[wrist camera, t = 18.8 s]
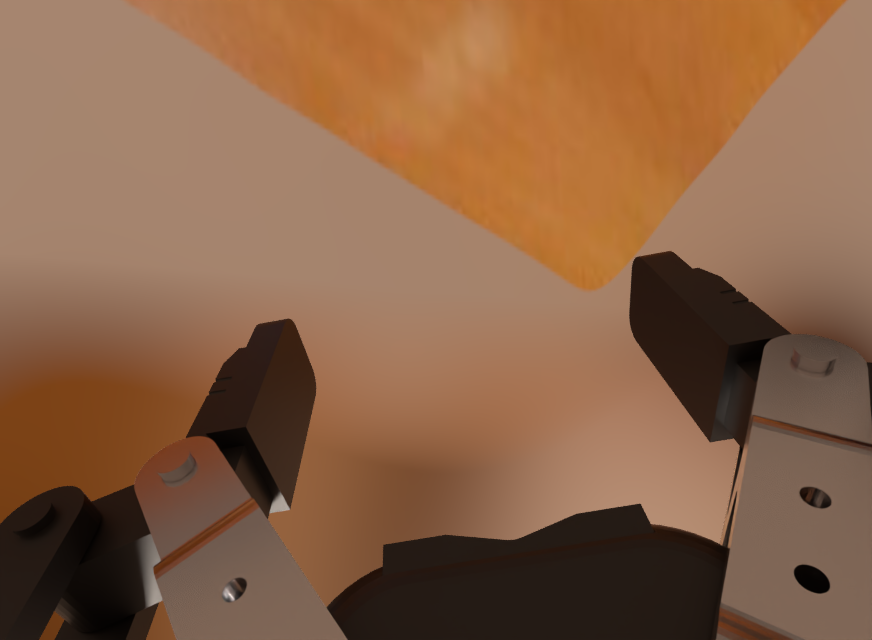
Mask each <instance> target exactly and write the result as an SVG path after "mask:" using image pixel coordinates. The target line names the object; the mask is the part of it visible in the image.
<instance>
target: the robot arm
mask: <svg viewBox="0 0 872 640" xmlns="http://www.w3.org/2000/svg"><path fill="white" fill-rule="evenodd" d="M629 313H630V314H629V316H630V317H629V318H630V326H631V330H632V333H633V336H634V338H635V340H636V341H637V343H638V344H639V346H640V347H641V348H642V350H643V351H644V352H645V354H646V355H647V356H648V358H649V359H650V361H651V362H652V363H653V365H654V366H655V367H656V369H657V370H658V372H659V373H660V374H661V376H662V377H663V378H664V380H665V381H666V382H667V384H668V385H669V387H670V388H671V389H672V391H673V392H674V393H675V395H676V396H677V398H678V399H679V400H680V402H681V403H682V405H683V406H684V407H685V408H686V410H687V411H688V413H689V414H690V415H691V417H692V418H693V420H694V421H695V422H696V424H697V425H698V426H699V428H700V429H701V431H702V432H703V433H704V435H705V436H706V437H707V439H708V440H709V442H715V441H721V440H727V439H733V438H734V439H735V440H736V442H737V443H738V444H739V445H740V447H739V451H738V455H737V459H736V464H735V470H734V475H733V480H732V485H731V490H730V495H729V500H728V505H727V511H726V516H725V521H724V526H723V531H722V536H721V540H720V544H718V543H716V542H714V541H712V540H710V539H707V538H705V537H702V536H699V535H697V534H694V533H691V532H688V531H684V530H681V529H677V528H672V527H667V526H662V525H653V524H650V522H649V520H648V518H647V516H646V514H645V512H644V510H643V508H642V506H641V504H635V505H629V506H623V507H616V508H610V509H604V510H598V511H592V512H585V513H579V514H575V515H573V516H570V517H568V518H566V519H564V520H562V521H559V522H557V523H554V524H552V525H550V526H547V527H545V528H543V529H540V530H538V531H536V532H533V533H531V534H529V535H527V536H524V537H522V538H519V539H516V540H500V539H499V540H498V539H487V538H476V537H464V536H453V535H442V536H436V537H430V538H423V539H418V540H411V541H405V542H399V543H392V544H386V545H384V547H383V567H381V568H378V569H376V570H374V571H372V572H370V573H369V574H367V575H365V576H363V577H361V578H360V579H359V580H357V581H356V582H354V583H353V584H352V585H350V586H349V587H347V588H346V589H345V590H344V591H343V592H342V593H341V594H340V595H338V596H337V597H336V598H335V599H334V600H333V601H332V602H331V603H330V604H329V605H328V606H327V607H326V606H325V605H324V604H323V602H322V601H321V599H320V597H319V596H318V594H317V593H316V591H315V590H314V589H313V587H312V585H311V584H310V582H309V581H308V579H307V578H306V576H305V575H304V573H303V572H302V570H301V569H300V567H299V566H298V564H297V563H296V562H295V560H294V558H293V557H292V555H291V554H290V552H289V551H288V549H287V548H286V546H285V545H284V543H283V542H282V540H281V539H280V537H279V536H278V534H277V533H276V531H275V530H274V528H273V527H272V525H271V524H270V522H269V521H268V516H269V513H273V512H278V511H285V510H290V508H291V503H292V498H293V494H294V490H295V485H296V481H297V476H298V472H299V468H300V463H301V458H302V454H303V449H304V444H305V441H306V436H307V431H308V427H309V423H310V418H311V414H312V409H313V404H314V401H315V396H316V382H315V376H314V372H313V369H312V366H311V363H310V361H309V359H308V356H307V353H306V351H305V348H304V346H303V343H302V341H301V338H300V335H299V333H298V330H297V328H296V325H295V324H294V322H293V321H292V320H291V319H284V320H279V321H273V322H267V323H262V324H258V325H257V326H256V327H255V329H254V332H253V334H252V336H251V338H250V340H249V342H248V344H247V347H245V348H239V349H238V350H237V351H236V352H235V353H234V354H233V355H232V356H231V357H230V358H229V359H228V360H227V361H226V362H225V363H224V364H223V366H222V368H221V370H220V371H219V373H218V375H217V378H216V382H215V383H213V385H212V387H211V389H210V391H209V396H207V397H206V399H205V401H204V403H203V405H202V407H201V409H200V411H199V413H198V415H197V417H196V419H195V420H194V422H193V425H192V426H191V428H190V430H189V432H188V434H187V436H186V438H185V439H182V440H179V441H176V442H174V443H172V444H170V445H168V446H166V447H165V448H163V449H162V450H160V451H159V452H157V453H156V454H155V455H154V456H153V457H151V458H150V459H149V460H148V461H147V462H146V463H145V464H144V466H143V467H142V468H141V470H140V471H139V473H138V475H137V477H136V480H135V484H134V485H132V486H129V487H127V488H124V489H122V490H119V491H117V492H114V493H112V494H110V495H107V496H104V497H102V498H100V499H97V500H95V501H92V502H91V501H90V499H88V497H87V496H86V495H85V494H84V493H83V492H82V490H81V489H79V488H77V487H74V486H63V487H58V488H54V489H52V490H49V491H46V492H44V493H42V494H40V495H37V496H36V497H34V498H32V499H30V500H29V501H27V502H26V503H24V504H23V505H21V506H20V507H19V508H17V509H16V510H15V511H13V512H12V513H11V514H10V515H9V516H8V517H7V518H6V519H5V520H4V521H3V522H2V523H1V524H0V640H39V639H40V637H41V635H42V633H43V631H44V629H45V627H46V626H47V624H48V622H49V620H50V618H51V616H52V614H53V612H54V611H55V612H56V613H57V614H59V615H60V616H61V617H62V618H63V619H64V622H63V624H62V626H61V628H60V630H59V632H58V634H57V636H56V638H55V640H146V637H147V634H148V632H149V629H150V626H151V623H152V621H153V617H154V615H155V612H156V609H157V607H158V604H159V602H160V601H162V600H163V602H164V605H165V608H166V611H167V614H168V617H169V620H170V622H171V625H172V628H173V631H174V634H175V637H176V640H872V363H868V362H865V360H864V358H862V356H861V355H860V354H859V353H857V352H856V351H855V350H853V349H852V348H850V347H848V346H846V345H844V344H842V343H840V342H837V341H834V340H832V339H828V338H824V337H820V336H815V335H807V334H791V333H790V332H788V331H787V330H786V329H784V328H783V327H782V326H781V325H780V324H778V323H777V322H776V321H775V320H774V319H772V318H771V317H770V316H769V315H767V314H766V313H765V312H764V311H762V310H761V309H760V308H759V307H757V306H756V305H755V304H754V303H753V302H749V301H748V298H746V297H745V296H744V295H743V294H741V293H740V292H736V289H735V288H734V287H733V286H732V285H730V284H729V283H728V282H727V281H725V280H724V279H723V278H722V277H720V276H718V275H715V274H713V273H710V272H708V271H705V270H702V269H700V268H695V269H692V268H691V267H690V266H689V265H688V264H687V263H685V262H684V261H683V260H682V259H681V258H680V257H678V256H677V255H676V254H675V253H674V252H671V251H667V252H662V253H656V254H651V255H645V256H639V257H636V258H635V259H634V261H633V265H632V276H631V294H630V312H629Z"/></svg>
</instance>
